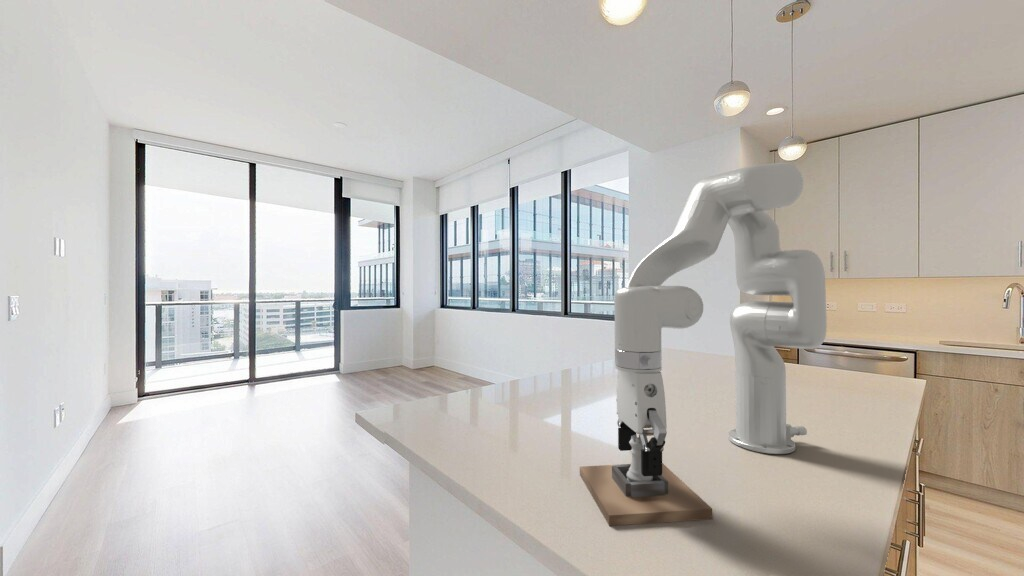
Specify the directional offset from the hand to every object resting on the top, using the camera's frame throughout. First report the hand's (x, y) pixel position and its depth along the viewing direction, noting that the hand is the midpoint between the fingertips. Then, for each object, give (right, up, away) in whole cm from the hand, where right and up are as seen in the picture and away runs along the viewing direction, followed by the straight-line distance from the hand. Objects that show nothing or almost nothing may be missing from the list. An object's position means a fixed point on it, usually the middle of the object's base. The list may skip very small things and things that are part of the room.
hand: (638, 461), depth 66 cm
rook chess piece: (0, -4, 0) cm, 4 cm away
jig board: (0, -6, 0) cm, 6 cm away
